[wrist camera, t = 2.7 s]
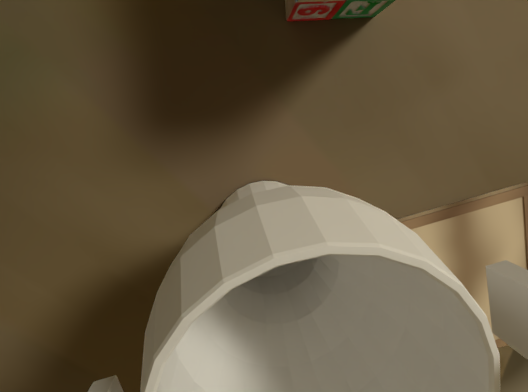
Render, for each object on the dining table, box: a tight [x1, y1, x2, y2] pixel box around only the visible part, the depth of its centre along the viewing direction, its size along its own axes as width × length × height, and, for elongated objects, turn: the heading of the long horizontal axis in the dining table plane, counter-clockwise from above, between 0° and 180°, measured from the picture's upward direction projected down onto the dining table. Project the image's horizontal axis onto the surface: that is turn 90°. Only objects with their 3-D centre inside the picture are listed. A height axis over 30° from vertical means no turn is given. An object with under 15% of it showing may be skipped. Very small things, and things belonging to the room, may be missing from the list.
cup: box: [140, 181, 500, 392], centre depth 15 cm, size 11×11×15 cm
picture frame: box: [397, 183, 528, 348], centre depth 24 cm, size 14×14×1 cm
